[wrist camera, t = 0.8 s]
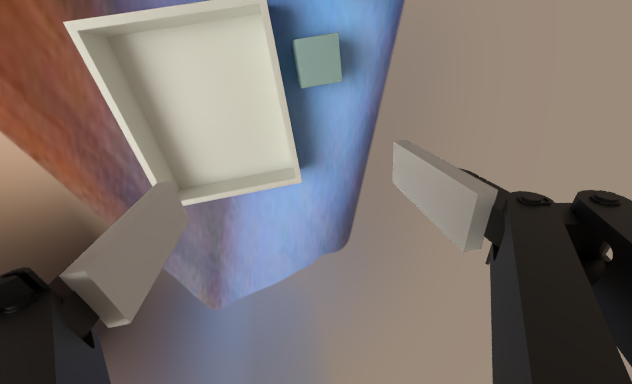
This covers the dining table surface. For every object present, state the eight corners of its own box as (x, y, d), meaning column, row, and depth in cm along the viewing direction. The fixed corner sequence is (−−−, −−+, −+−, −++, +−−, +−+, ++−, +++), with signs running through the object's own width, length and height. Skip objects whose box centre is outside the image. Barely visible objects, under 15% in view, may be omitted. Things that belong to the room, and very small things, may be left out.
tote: (98, 30, 27) (63, 22, 22) (267, 5, 28) (265, -8, 23) (178, 193, 37) (165, 209, 32) (299, 169, 38) (302, 182, 33)
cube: (292, 44, 30) (294, 39, 26) (329, 38, 30) (338, 32, 26) (299, 86, 32) (302, 88, 28) (333, 80, 33) (342, 81, 28)
